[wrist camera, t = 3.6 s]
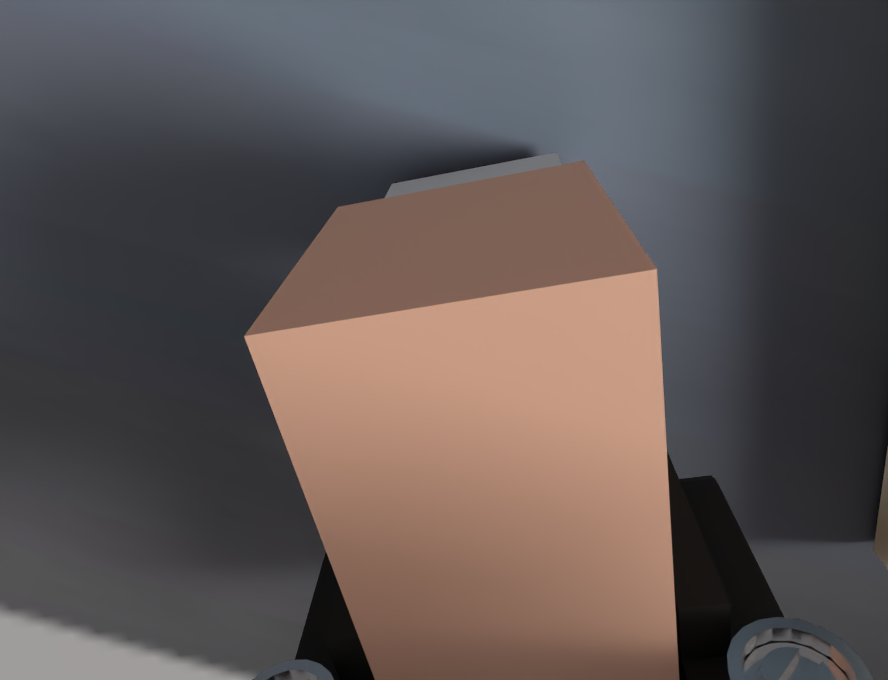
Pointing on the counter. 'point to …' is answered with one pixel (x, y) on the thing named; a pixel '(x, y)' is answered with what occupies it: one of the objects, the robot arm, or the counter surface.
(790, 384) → the counter surface
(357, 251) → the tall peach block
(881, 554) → the beige flat slotted block
